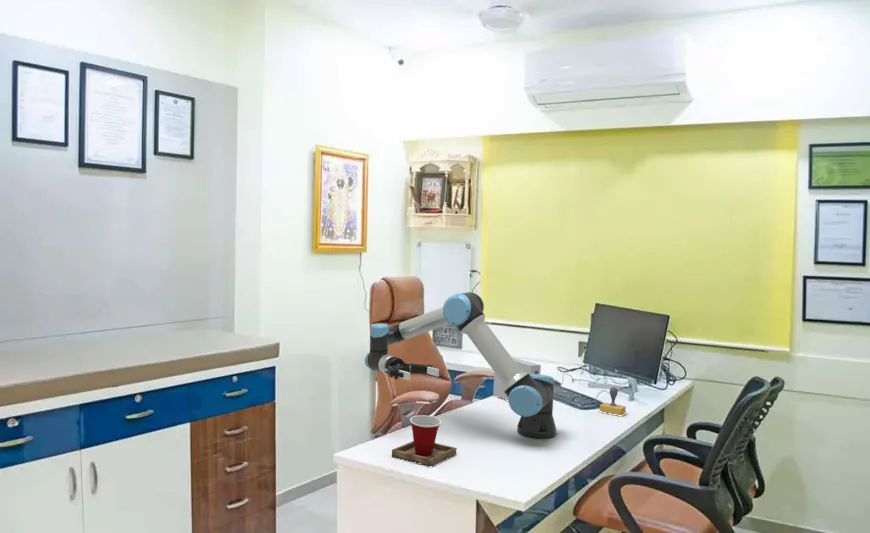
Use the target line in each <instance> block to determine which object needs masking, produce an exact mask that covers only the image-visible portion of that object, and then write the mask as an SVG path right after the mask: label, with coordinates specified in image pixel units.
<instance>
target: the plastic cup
mask: <svg viewBox="0 0 870 533" xmlns="http://www.w3.org/2000/svg"><path fill="white" fill-rule="evenodd" d="M409 422H410V425H411V431H412V439H413V441H414V446H415V453H416V455H419V456H430V455H432V452H433V448H434V444H435V443H436V439H437V434H438V433H437V432H438V431H439V427H440V425H441V423H442V421H441V419H440V418H438V417H436V416H434V415H433V416H432V415H424V414H422V415H421V414H420V415H419V414H418V415H414V416H411V417H410V418H409Z"/></svg>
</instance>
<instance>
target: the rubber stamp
mask: <svg viewBox="0 0 870 533" xmlns="http://www.w3.org/2000/svg"><path fill="white" fill-rule="evenodd" d="M618 392H619V391H618V388H617V387H615V386H612V387H611V388H610V389H609V394H610V399H611V402H610V403H609V402H603V403H601V404H600V405H599V412H600V411H602V412H606V413H611V414H617V415H623V414H624V413H625V414H626V408H627V407H626V406H624V405H620V404H616V402H615V401H616V399H617V396H618ZM623 416H624V415H623Z"/></svg>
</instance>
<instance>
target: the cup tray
mask: <svg viewBox="0 0 870 533" xmlns="http://www.w3.org/2000/svg"><path fill="white" fill-rule="evenodd" d="M457 449H458V448H457V447H455V446H450V445H445V444H442V443H438V442H435V444H434V448H433V452H432V455H430V456H419V455H416V453H415V446H414V440H413V441H410V442H407V443H405V444H403V445H400V446H398V447H395V448H393V449H392V450H391V458H395V457H396V458H395V459H398V458H400V459H399V460H402V459H404V460H403V461H406V460H408V461H407V462H410V461H412V462H411V463H413V462H416V463H415V464H417V463H421V464H424V465H423V466H425V465H428V466H427V467H429V466H432V467H434V466H433V465H435V464H437V463H439V462H441V461H443V460H445V459H447V458H449V457H451V456H453V455H455V454H456V455H457ZM456 455H455V456H456ZM453 457H454V456H453ZM451 458H452V457H451ZM449 459H450V458H449ZM447 460H448V459H447ZM445 461H446V460H445ZM443 462H444V461H443ZM441 463H442V462H441ZM421 464H420V465H421ZM439 464H440V463H439ZM437 465H438V464H437ZM435 466H436V465H435Z"/></svg>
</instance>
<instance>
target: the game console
mask: <svg viewBox="0 0 870 533" xmlns="http://www.w3.org/2000/svg"><path fill="white" fill-rule="evenodd" d="M511 357H512V358H513V360H514V361H515V362H516V364H517V365H518V366H519V368H520V369H521V370H522V371H523V372H527V373H529V374H539V375H541V367H542V366H541V364H538V363H535V362H532V361H528V360H523V359H519V358H516V357H513V356H511ZM493 375H494V376H493V391H492V392H493V394H492V396H493V397H495V396H498V397H501V398H503V399H506V400H508V401H509V398H508V396H507V395H506V394H505V392H504V384H503V383H502V381H501V380H500V379H499V377H498V376H497V375H496V373H495V372H494V373H493ZM498 397H497V398H498ZM503 399H502V400H503ZM506 400H505V401H506ZM508 401H507V402H508Z"/></svg>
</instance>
